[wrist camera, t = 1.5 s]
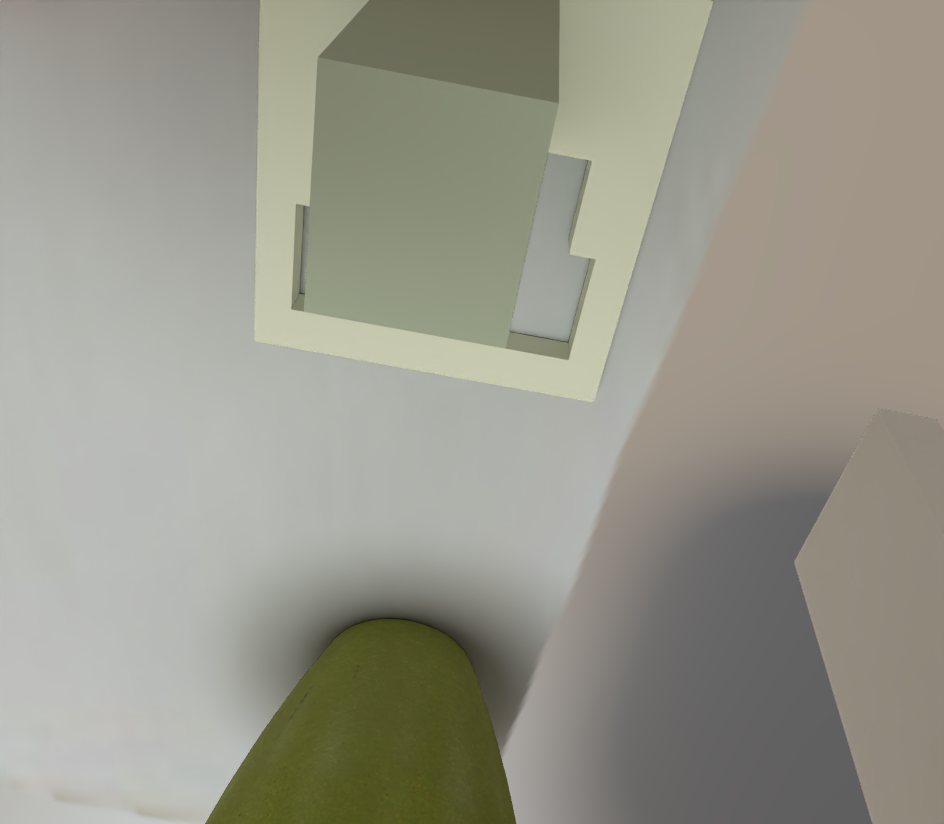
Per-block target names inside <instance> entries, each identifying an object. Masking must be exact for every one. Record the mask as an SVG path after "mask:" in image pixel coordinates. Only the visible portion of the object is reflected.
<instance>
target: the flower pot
mask: <svg viewBox="0 0 944 824" xmlns="http://www.w3.org/2000/svg"><path fill="white" fill-rule="evenodd" d="M205 824H516V820H515V815H514V810H513V806H512V801H511V796H510V792H509V787H508V782H507V778H506V774H505V770H504V767H503V763H502V759H501V755H500V751H499V748H498V744H497V741H496V737H495V734H494V730H493V727H492V723H491V720H490V717H489V714H488V710H487V707H486V704H485V701H484V698H483V695H482V692H481V689H480V686H479V683H478V681H477V678H476V675H475V672H474V670H473V667H472V665H471V663H470V660H469V658H468V657H467V655H466V653H465V652H464V650H463V649H462V648H461V647H460V646H459V645H458V644H457V643H456V642H455V641H454V640H453V639H451V638H450V637H449V636H447V635H446V634H444V633H442V632H440V631H438V630H436V629H434V628H432V627H429V626H426V625H424V624H421V623H417V622H413V621H408V620H401V619H376V620H371V621H367V622H362V623H360V624H357V625H354V626H352V627H350V628H348V629H346V630H345V631H343V632H342V633H340V634H339V635H338V636H337V637H336V638H335V639H334V640H333V641H332V643H331V644H330V645H329V646H328V647H327V648H326V649H325V651H324V652H323V653H322V654H321V655H320V657H319V658H318V659H317V660H316V661H315V663H314V664H313V665H312V666H311V668H310V669H309V670H308V671H307V673H306V674H305V675H304V676H303V678H302V679H301V680H300V682H299V683H298V684H297V686H296V687H295V688H294V689H293V691H292V692H291V693H290V695H289V696H288V697H287V699H286V700H285V701H284V703H283V704H282V706H281V707H280V708H279V710H278V711H277V712H276V714H275V715H274V717H273V718H272V719H271V721H270V722H269V724H268V725H267V726H266V728H265V729H264V731H263V732H262V734H261V735H260V736H259V738H258V740H257V741H256V743H255V744H254V746H253V747H252V749H251V750H250V752H249V753H248V755H247V756H246V758H245V759H244V761H243V762H242V764H241V766H240V767H239V769H238V770H237V772H236V773H235V775H234V776H233V778H232V780H231V781H230V783H229V784H228V786H227V788H226V789H225V791H224V793H223V794H222V796H221V798H220V799H219V801H218V803H217V805H216V806H215V808H214V810H213V811H212V813H211V815H210V816H209V818H208V820H207V821H206V823H205Z"/></svg>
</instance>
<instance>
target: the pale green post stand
mask: <svg viewBox="0 0 944 824" xmlns="http://www.w3.org/2000/svg"><path fill="white" fill-rule="evenodd" d="M713 2H714V1H713V0H260V15H259V76H258V137H257V199H256V260H255V321H254V341H257V342H262V343H268V344H273V345H279V346H284V347H290V348H295V349H301V350H306V351H312V352H317V353H323V354H328V355H334V356H339V357H345V358H350V359H356V360H361V361H367V362H372V363H378V364H383V365H389V366H395V367H400V368H406V369H411V370H417V371H422V372H428V373H433V374H439V375H444V376H450V377H455V378H461V379H466V380H472V381H477V382H483V383H488V384H494V385H499V386H505V387H510V388H516V389H521V390H527V391H532V392H538V393H543V394H549V395H554V396H560V397H565V398H571V399H576V400H582V401H587V402H593V403H594V399H595V396H596V393H597V389H598V386H599V383H600V379H601V376H602V373H603V369H604V366H605V363H606V359H607V356H608V353H609V349H610V346H611V343H612V339H613V336H614V332H615V329H616V326H617V322H618V319H619V316H620V312H621V309H622V306H623V302H624V299H625V296H626V292H627V289H628V286H629V282H630V279H631V276H632V272H633V269H634V266H635V262H636V259H637V256H638V252H639V249H640V246H641V242H642V239H643V236H644V232H645V229H646V226H647V222H648V219H649V216H650V212H651V209H652V206H653V202H654V199H655V196H656V192H657V189H658V186H659V182H660V179H661V176H662V172H663V169H664V166H665V162H666V159H667V156H668V152H669V149H670V146H671V142H672V139H673V136H674V132H675V129H676V126H677V122H678V119H679V116H680V112H681V109H682V106H683V102H684V99H685V96H686V92H687V89H688V86H689V82H690V79H691V76H692V72H693V69H694V66H695V62H696V59H697V55H698V52H699V49H700V45H701V42H702V39H703V35H704V32H705V29H706V25H707V22H708V19H709V15H710V12H711V9H712V5H713ZM548 153H552V154H557V155H563V156H568V157H573V158H579V159H584V160H588V163H587V167H586V171H585V175H584V179H583V183H582V187H581V191H580V195H579V199H578V203H577V207H576V211H575V215H574V220H573V224H572V228H571V232H570V236H569V255H574V256H580V257H585V258H590V263H589V267H588V271H587V274H586V278H585V282H584V286H583V289H582V293H581V297H580V301H579V305H578V308H577V312H576V316H575V320H574V323H573V327H572V331H571V335H570V338H569V342H568V343H567V342H561V341H556V340H550V339H545V338H539V337H534V336H528V335H523V334H517V333H512V332H509V331H510V327H511V322H512V317H513V313H514V308H515V304H516V299H517V294H518V290H519V285H520V281H521V276H522V271H523V267H524V262H525V257H526V253H527V248H528V244H529V239H530V234H531V230H532V225H533V221H534V216H535V211H536V207H537V202H538V198H539V193H540V188H541V184H542V179H543V174H544V170H545V165H546V161H547V156H548ZM304 205H305V206H310V207H309V226H308V244H307V262H306V281H305V295H304V294H299V292H300V272H301V252H302V233H303V213H304Z"/></svg>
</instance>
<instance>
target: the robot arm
mask: <svg viewBox="0 0 944 824" xmlns="http://www.w3.org/2000/svg"><path fill="white" fill-rule="evenodd" d="M794 563H795V567H796V570H797V573H798V577H799V580H800V583H801V587H802V590H803V593H804V597H805V600H806V603H807V607H808V610H809V613H810V616H811V620H812V623H813V627H814V630H815V633H816V637H817V640H818V643H819V647H820V650H821V653H822V657H823V660H824V663H825V667H826V670H827V673H828V677H829V680H830V684H831V687H832V690H833V693H834V697H835V700H836V703H837V707H838V710H839V713H840V717H841V720H842V723H843V726H844V730H845V734H846V737H847V740H848V744H849V747H850V750H851V754H852V757H853V760H854V764H855V767H856V770H857V774H858V777H859V780H860V784H861V787H862V790H863V793H864V797H865V800H866V803H867V807H868V810H869V814H870V817H871V820H872V824H944V430H943V428H942V426H941V425H940V423H939V422H938V420H937V419H933V418H927V417H922V416H916V415H912V414H906V413H901V412H896V411H890V410H885V409H879V408H878V409H877V411H876V412H875V414H874V416H873V418H872V420H871V422H870V424H869V425H868V427H867V429H866V431H865V433H864V435H863V436H862V438H861V440H860V442H859V444H858V446H857V447H856V449H855V451H854V453H853V455H852V457H851V458H850V460H849V462H848V464H847V466H846V468H845V469H844V471H843V473H842V475H841V477H840V479H839V481H838V482H837V484H836V486H835V488H834V490H833V492H832V493H831V495H830V497H829V499H828V501H827V503H826V505H825V506H824V508H823V510H822V512H821V514H820V515H819V517H818V519H817V521H816V523H815V525H814V526H813V528H812V530H811V532H810V534H809V536H808V538H807V539H806V541H805V543H804V545H803V547H802V549H801V550H800V552H799V554H798V556H797V558H796V560H795V561H794Z"/></svg>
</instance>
